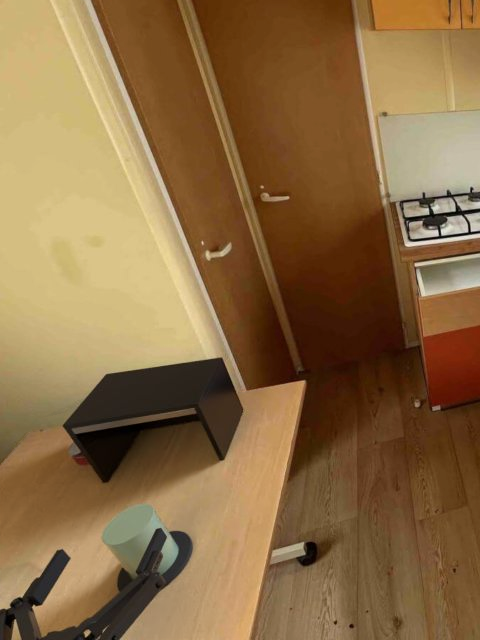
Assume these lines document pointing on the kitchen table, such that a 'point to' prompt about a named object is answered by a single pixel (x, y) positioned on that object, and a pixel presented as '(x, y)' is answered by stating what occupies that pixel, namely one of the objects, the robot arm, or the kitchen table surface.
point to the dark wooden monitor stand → (154, 409)
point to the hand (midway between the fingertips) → (114, 543)
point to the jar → (137, 538)
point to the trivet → (176, 568)
